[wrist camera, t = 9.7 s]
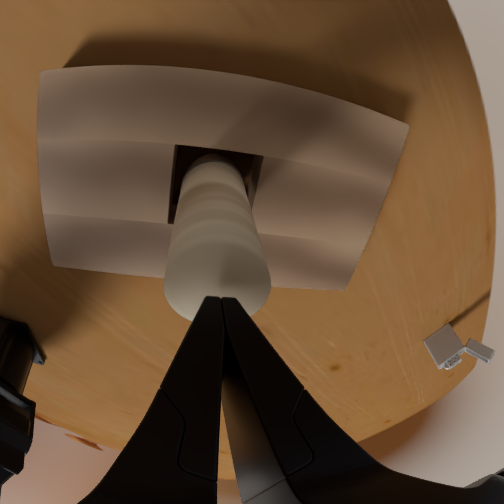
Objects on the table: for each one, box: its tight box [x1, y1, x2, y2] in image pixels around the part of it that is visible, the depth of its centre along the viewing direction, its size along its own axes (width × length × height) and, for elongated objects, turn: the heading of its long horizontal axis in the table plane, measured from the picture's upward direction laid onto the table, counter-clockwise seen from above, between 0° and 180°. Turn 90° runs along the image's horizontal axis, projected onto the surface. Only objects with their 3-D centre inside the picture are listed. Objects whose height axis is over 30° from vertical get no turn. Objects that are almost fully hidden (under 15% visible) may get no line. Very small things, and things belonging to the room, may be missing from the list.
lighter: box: [424, 323, 495, 370], centre depth 28 cm, size 7×2×8 cm, turn 128°
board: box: [37, 65, 410, 291], centre depth 16 cm, size 12×20×2 cm, turn 79°
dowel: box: [163, 154, 271, 321], centre depth 13 cm, size 3×3×10 cm
